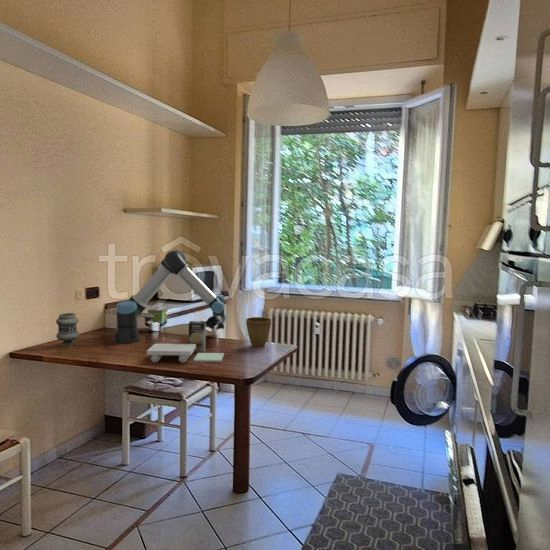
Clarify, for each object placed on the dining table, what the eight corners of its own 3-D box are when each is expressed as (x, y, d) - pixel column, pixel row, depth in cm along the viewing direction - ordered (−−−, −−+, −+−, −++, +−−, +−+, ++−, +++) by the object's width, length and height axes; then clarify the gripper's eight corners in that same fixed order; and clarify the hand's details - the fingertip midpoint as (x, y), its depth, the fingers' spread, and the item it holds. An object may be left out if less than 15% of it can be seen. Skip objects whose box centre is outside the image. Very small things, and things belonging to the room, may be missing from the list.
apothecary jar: (52, 346, 261) (51, 315, 259) (64, 342, 273) (63, 312, 271) (72, 347, 259) (71, 316, 258) (83, 343, 271) (82, 312, 270)
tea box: (162, 331, 307) (162, 309, 305) (147, 331, 307) (147, 309, 306) (167, 327, 322) (167, 306, 320) (153, 327, 322) (153, 306, 321)
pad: (193, 361, 235) (193, 359, 235) (198, 354, 249) (198, 352, 249) (221, 361, 235) (221, 360, 235) (223, 354, 249) (223, 353, 249)
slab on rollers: (146, 362, 232) (146, 350, 231) (154, 354, 247) (154, 343, 247) (190, 363, 232) (190, 351, 231) (195, 355, 248) (195, 344, 247)
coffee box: (187, 351, 254) (187, 323, 253) (189, 349, 261) (189, 321, 259) (204, 352, 255) (204, 323, 253) (205, 349, 261) (206, 321, 260)
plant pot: (240, 346, 268) (240, 319, 267) (256, 342, 280) (256, 316, 279) (260, 350, 259) (260, 322, 258) (276, 345, 271) (276, 319, 270)
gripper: (233, 328, 285) (224, 335, 265) (195, 327, 290) (182, 334, 269) (233, 316, 285) (224, 322, 264) (194, 315, 289) (182, 321, 268)
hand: (203, 328), depth 266 cm, fingers open, 13 cm apart
